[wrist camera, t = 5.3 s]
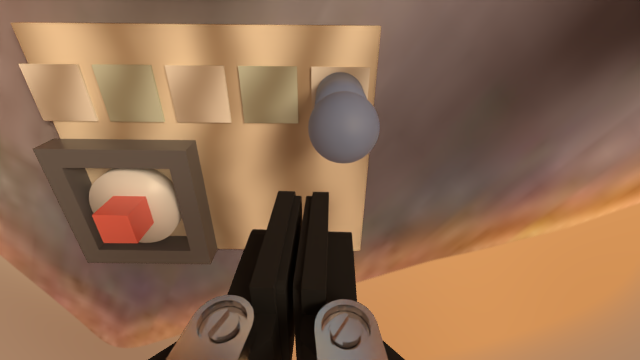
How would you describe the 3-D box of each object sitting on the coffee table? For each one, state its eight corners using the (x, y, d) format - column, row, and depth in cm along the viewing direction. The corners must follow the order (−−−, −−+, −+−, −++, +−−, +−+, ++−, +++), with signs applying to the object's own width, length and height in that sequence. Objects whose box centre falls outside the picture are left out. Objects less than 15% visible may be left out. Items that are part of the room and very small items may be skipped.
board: (379, 25, 20) (381, 26, 20) (359, 245, 30) (360, 252, 29) (13, 22, 21) (0, 22, 20) (107, 241, 30) (100, 248, 29)
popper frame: (195, 140, 24) (185, 150, 22) (217, 248, 29) (210, 264, 27) (54, 138, 24) (32, 148, 22) (101, 247, 29) (87, 262, 27)
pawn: (369, 70, 21) (390, 105, 14) (363, 123, 23) (379, 178, 16) (313, 67, 21) (306, 101, 14) (312, 121, 23) (305, 174, 16)
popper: (174, 164, 25) (149, 189, 21) (191, 233, 28) (172, 265, 25) (87, 163, 25) (48, 188, 21) (115, 232, 28) (85, 263, 25)
